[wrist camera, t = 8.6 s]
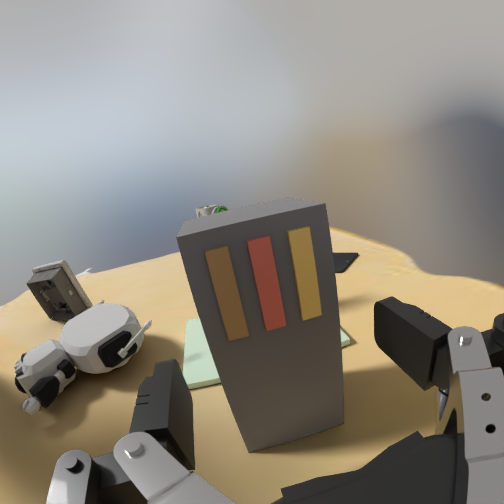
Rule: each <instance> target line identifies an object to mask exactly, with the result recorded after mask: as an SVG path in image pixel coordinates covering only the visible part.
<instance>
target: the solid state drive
mask: <svg viewBox="0 0 504 504" xmlns="http://www.w3.org/2000/svg"><path fill="white" fill-rule="evenodd" d="M357 256H358V253H333V260H334V268H335V273H343V272H344V271H345V270H346V269H347V267H348V266H349V265H350V264H351V263H352V262H353V261H354V260H355V258H356V257H357Z"/></svg>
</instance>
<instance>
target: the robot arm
mask: <svg viewBox="0 0 504 504" xmlns="http://www.w3.org/2000/svg"><path fill="white" fill-rule="evenodd" d="M374 337H375V341H376V343H377V345H378V347H379V348H380V349H381V350H382V351H383V352H384V353H385V354H386V355H387V356H389V357H390V358H391V359H392V360H393V361H394V362H395V363H396V364H397V365H398V366H399V367H400V368H401V369H402V370H403V371H404V372H405V373H407V374H408V375H409V376H410V377H411V378H412V379H413V380H414V381H415V382H416V383H417V384H418V385H419V386H420V387H421V388H422V389H423V390H424V391H426V390H427V389H429V388H431V387H432V386H434V385H436V386H437V391H436V431H435V435H432V436H428V437H424V438H423V437H422V435H421V434H420V433H419V432H418V431H416V432H415V433H413V434H411V435H410V436H408V437H406V438H404V439H402V440H401V441H399V442H397V443H395V444H393V445H391V446H389V447H388V448H387V449H385V450H384V451H383V452H382V453H381V454H379V455H378V456H377V457H375V458H374V459H373V460H372V461H370V462H369V463H368V464H366V465H365V466H364V467H362V468H361V469H359V470H356V471H351V472H346V473H341V474H335V475H329V476H323V477H317V478H314V479H311V480H308V481H305V482H302V483H299V484H295V485H292V486H288V487H285V488H281V492H282V495H283V497H282V498H280V499H278V500H276V501H274V502H273V503H271V504H504V313H503V314H499V315H498V316H496V317H495V319H494V323H493V328H492V329H490V330H487V331H484V332H481V333H480V332H479V331H478V330H477V329H475V328H472V327H466V326H462V327H457V328H455V329H452V328H450V327H449V326H447V325H446V324H444V323H442V322H441V321H439V320H438V319H436V318H434V317H433V316H432V317H431V315H430V314H428V313H426V312H424V311H423V310H421V309H420V308H418V307H417V306H414V305H410V304H406V303H402V302H401V301H399V300H398V299H396V298H394V297H388V298H386V299H383V300H381V301H378V302H376V303H375V305H374ZM137 397H138V398H137V399H136V406H135V408H134V413H133V418H132V423H131V427H130V432H129V434H127V435H125V436H123V437H122V438H121V439H120V440H119V441H118V442H117V443H116V445H115V447H114V451H113V452H111V453H109V454H105V455H102V456H98V457H94V458H91V457H90V455H89V454H88V453H87V452H85V451H83V450H80V449H73V450H70V451H67V452H65V453H64V454H62V455H61V456H60V458H59V459H58V461H57V463H56V466H55V469H54V473H53V477H52V480H51V484H50V488H49V492H48V497H47V501H46V504H236V503H235V502H233V501H232V500H230V499H229V498H227V497H226V496H225V495H223V494H222V493H221V492H219V491H218V490H217V489H215V488H214V487H213V486H211V485H210V484H209V483H208V482H206V481H205V480H204V479H203V478H201V477H200V476H199V475H198V474H196V473H195V472H193V471H192V472H189V471H188V470H195V457H194V433H193V402H192V397H191V393H190V390H189V388H188V385H187V383H186V381H185V379H184V376H183V374H182V372H181V369H180V367H179V364H178V362H177V361H176V360H175V359H173V360H168V361H162V362H157V363H156V365H155V369H154V375H153V376H152V377H146V379H145V380H144V381H143V383H142V384H141V385H140V387H139V391H138V395H137Z"/></svg>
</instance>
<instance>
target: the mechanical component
mask: <svg viewBox="0 0 504 504" xmlns="http://www.w3.org/2000/svg"><path fill="white" fill-rule="evenodd" d="M223 211H228V209H227V208H226V207H225V206H219V205H208V206H204V207H200V208H196V214H197V218H198V217H202V216H207V215H211V214H215V213H219V212H223Z"/></svg>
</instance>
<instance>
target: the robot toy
mask: <svg viewBox="0 0 504 504" xmlns="http://www.w3.org/2000/svg"><path fill="white" fill-rule="evenodd" d="M151 322H152V320H151V321H147V322H146V323H145V324H144V325H143V326H144V327H143V328H141V326H140V324H139V322H138V320H137V318H136V316H135V314H134V313H133V312H132V311H131V310H130V309H129V308H128V307H125V306H122V305H117V304H104V300H102V301H100V302H99V303H98V305H96V306H93V307H91V308H89V309H87V310H86V311H84V312H82V313H81V314H79V315H77V316H76V317H74V318H72V319H71V320H69V321H68V322H67V323H66V324H65V325H64V327H63V328H62V332H61V336H60V343H61V345H60V343H59V342H58V341H55V340H52V339H50V340H48V341H46V342H44V343H42V344H40V345H38V346H37V347H35V348H33V349H31V350H30V351H28V352H27V353H25V354H22V356H21V359H20V360H18V361H17V363H16V365H15V367H14V368H15V370H16V371H15V373H16V374H17V375H16V377H15V384H16V386H17V388H18V389H19V390H20V391H21V392H23V393H27V394H28V395H29V397H31V398H28V399H26V400H25V401H24V403H23V405H22V406H23V409H24V411H25V412H27V413H28V414H30V415H34V414H35V413H36V412H38V411H39V408H40V405H41V406H42V407H44V408H47V407H48V406H49V405H50V404H51V403H52V402H53V401H54V400H55V398H56V397H57V396H58V394H59V393H61V392H63V390H64V389H63V388H64V387H65V386H67V385H68V384H69V383H70V382H71V381H73V380H74V379H75V376H76V368H78V369H79V370H81V371H84V372H87V373H93V374H99V373H106V372H110V371H111V370H112V369H114V368H119V367H122V366H124V365H125V364H126V363H127V362H128V361H129V359H130V358H131V356H133V355H134V354H135V353H137V352H138V351H139V349H140V347H141V345H142V343H143V341H144V332H145V330H146V329H148V328H149V327H150V326H151ZM74 366H75V367H76V368H75V367H74Z"/></svg>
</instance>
